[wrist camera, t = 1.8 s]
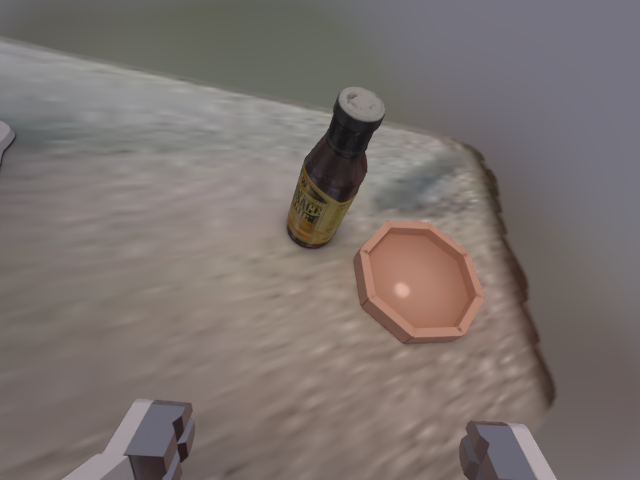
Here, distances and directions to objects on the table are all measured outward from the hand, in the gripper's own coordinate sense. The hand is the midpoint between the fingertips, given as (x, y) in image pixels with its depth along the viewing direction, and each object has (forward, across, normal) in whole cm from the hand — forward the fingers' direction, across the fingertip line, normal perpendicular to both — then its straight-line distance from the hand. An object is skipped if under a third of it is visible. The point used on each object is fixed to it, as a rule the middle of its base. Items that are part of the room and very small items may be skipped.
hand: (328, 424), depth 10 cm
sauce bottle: (+33, +2, +9) cm, 34 cm away
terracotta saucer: (+30, -12, +13) cm, 35 cm away
